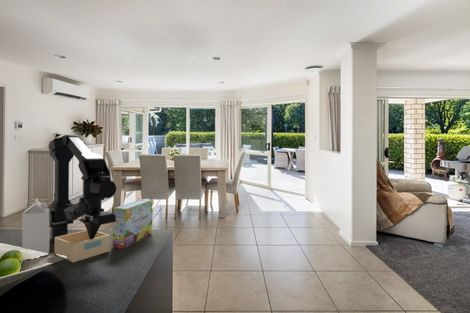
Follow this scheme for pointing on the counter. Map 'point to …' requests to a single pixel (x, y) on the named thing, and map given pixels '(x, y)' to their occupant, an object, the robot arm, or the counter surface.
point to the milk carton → (36, 227)
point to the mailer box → (71, 242)
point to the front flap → (91, 248)
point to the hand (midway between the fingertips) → (91, 239)
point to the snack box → (132, 223)
